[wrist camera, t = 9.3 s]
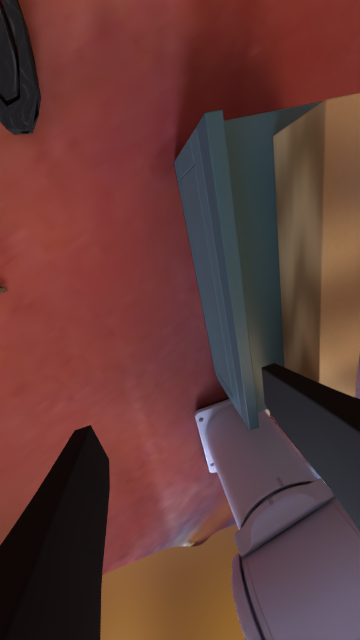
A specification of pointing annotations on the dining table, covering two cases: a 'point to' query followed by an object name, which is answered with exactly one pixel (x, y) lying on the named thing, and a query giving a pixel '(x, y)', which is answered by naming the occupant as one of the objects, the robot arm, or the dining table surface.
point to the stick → (320, 241)
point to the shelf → (237, 245)
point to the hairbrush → (17, 72)
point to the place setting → (3, 289)
